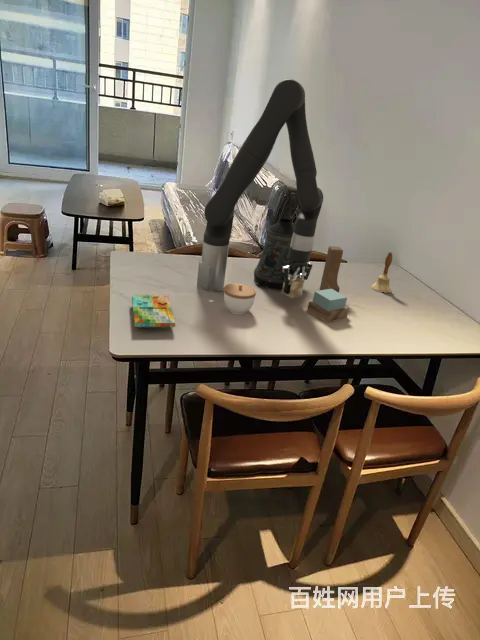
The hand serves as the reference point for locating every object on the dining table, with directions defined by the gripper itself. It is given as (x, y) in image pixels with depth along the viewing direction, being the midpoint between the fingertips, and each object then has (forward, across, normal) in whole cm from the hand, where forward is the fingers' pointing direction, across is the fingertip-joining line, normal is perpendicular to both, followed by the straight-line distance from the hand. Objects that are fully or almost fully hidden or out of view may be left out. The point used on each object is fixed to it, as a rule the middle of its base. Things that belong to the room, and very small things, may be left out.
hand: (291, 291), depth 170 cm
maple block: (+1, 0, 0) cm, 1 cm away
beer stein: (+5, -10, -19) cm, 22 cm away
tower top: (+1, -6, +12) cm, 14 cm away
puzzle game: (+6, +50, -11) cm, 52 cm away
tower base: (+5, -6, +12) cm, 15 cm away
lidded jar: (+5, +22, -4) cm, 22 cm away
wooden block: (+5, -21, 0) cm, 22 cm away
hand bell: (+4, -48, +6) cm, 49 cm away
